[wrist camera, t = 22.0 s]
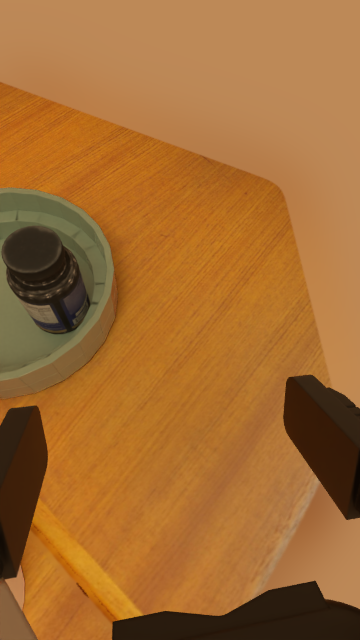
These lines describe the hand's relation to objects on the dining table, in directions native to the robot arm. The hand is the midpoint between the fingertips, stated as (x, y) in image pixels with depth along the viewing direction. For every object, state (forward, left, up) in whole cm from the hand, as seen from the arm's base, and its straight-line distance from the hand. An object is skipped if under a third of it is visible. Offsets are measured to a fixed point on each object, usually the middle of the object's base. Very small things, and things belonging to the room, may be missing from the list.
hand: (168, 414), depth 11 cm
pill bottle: (+7, -17, -23) cm, 29 cm away
